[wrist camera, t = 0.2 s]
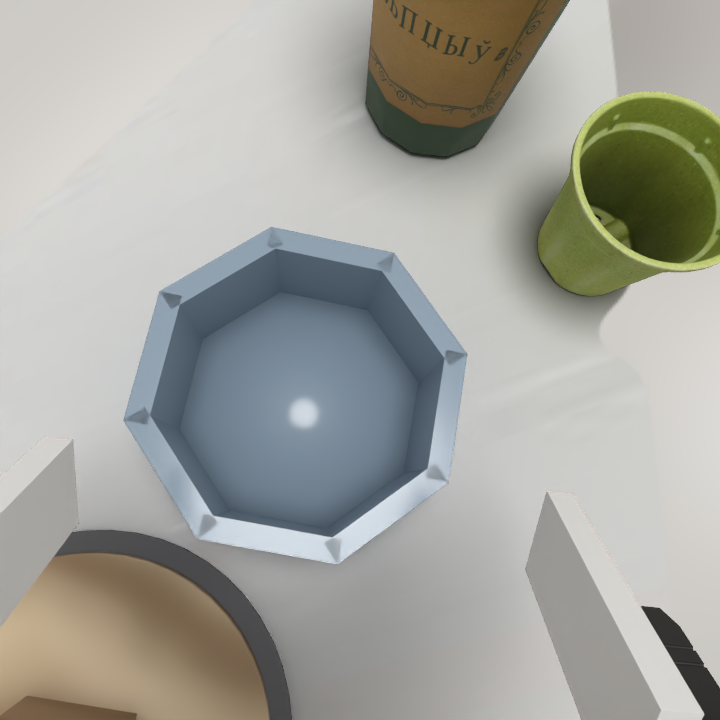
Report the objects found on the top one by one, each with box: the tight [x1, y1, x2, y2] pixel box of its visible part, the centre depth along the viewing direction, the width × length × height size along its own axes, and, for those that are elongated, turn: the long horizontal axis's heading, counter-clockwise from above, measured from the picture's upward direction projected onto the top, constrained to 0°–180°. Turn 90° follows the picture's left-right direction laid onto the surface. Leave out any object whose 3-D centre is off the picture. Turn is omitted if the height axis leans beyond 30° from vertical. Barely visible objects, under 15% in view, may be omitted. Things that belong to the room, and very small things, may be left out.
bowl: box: [124, 227, 467, 564], centre depth 28 cm, size 14×14×7 cm
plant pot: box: [538, 92, 720, 296], centre depth 31 cm, size 9×9×9 cm
